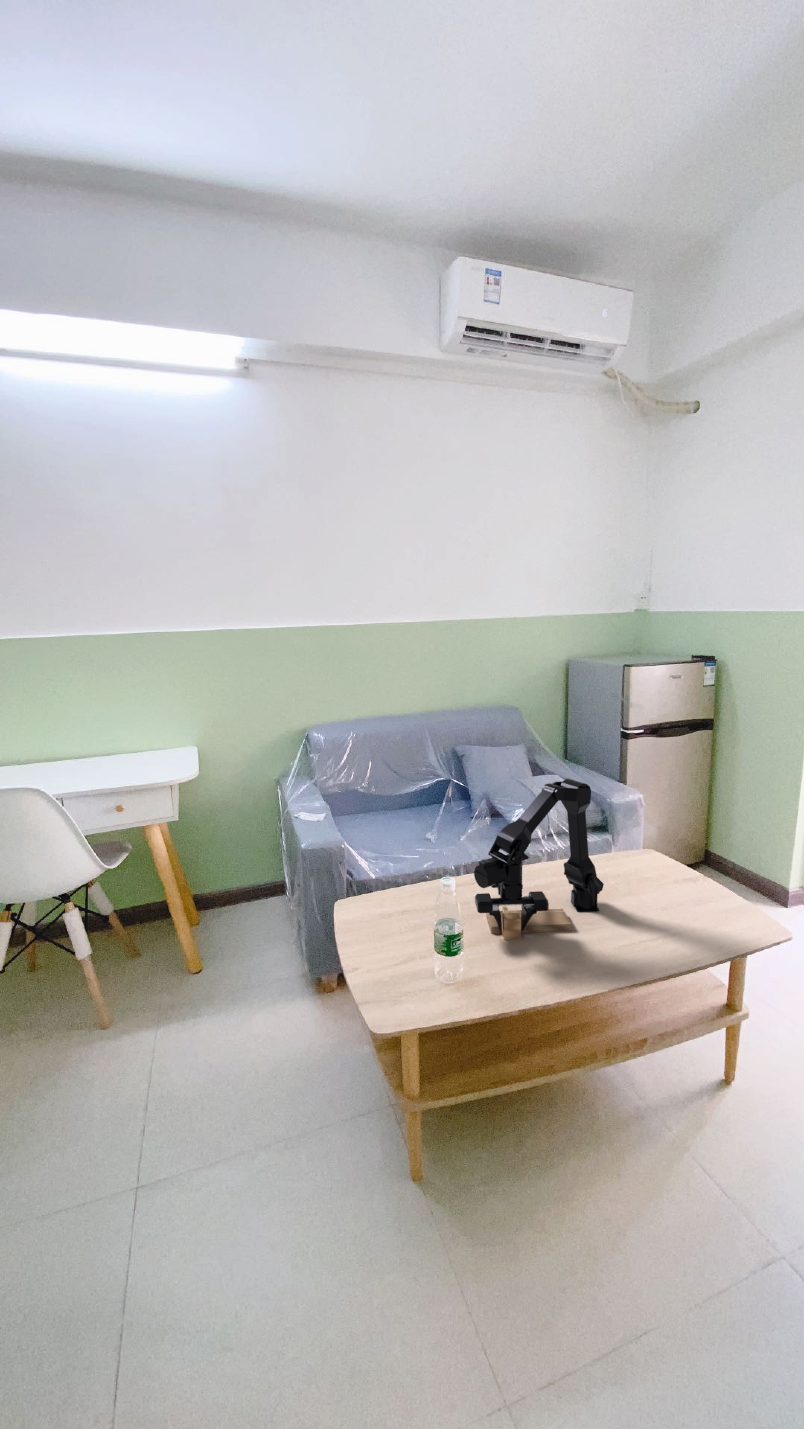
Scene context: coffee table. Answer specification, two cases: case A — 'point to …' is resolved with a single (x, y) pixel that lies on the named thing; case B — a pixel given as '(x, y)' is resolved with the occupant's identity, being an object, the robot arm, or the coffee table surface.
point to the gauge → (511, 925)
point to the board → (538, 921)
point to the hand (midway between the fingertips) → (511, 931)
